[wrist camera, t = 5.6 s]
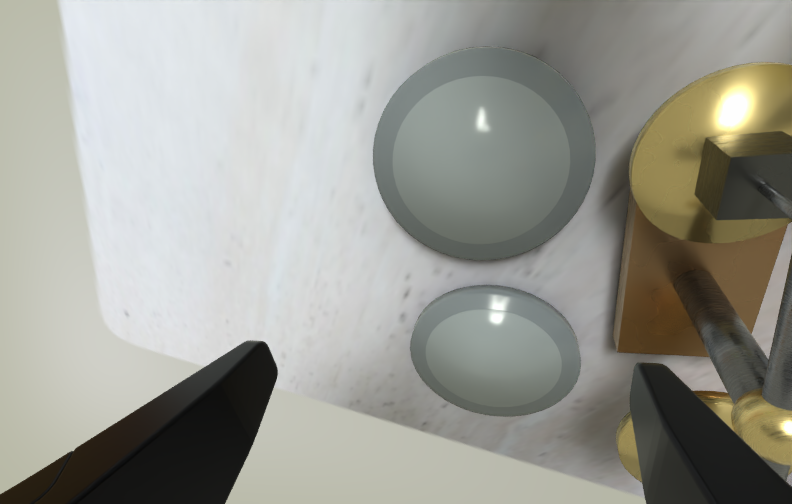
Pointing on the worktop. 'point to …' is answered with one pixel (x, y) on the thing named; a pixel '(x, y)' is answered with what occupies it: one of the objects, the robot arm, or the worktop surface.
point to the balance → (714, 248)
